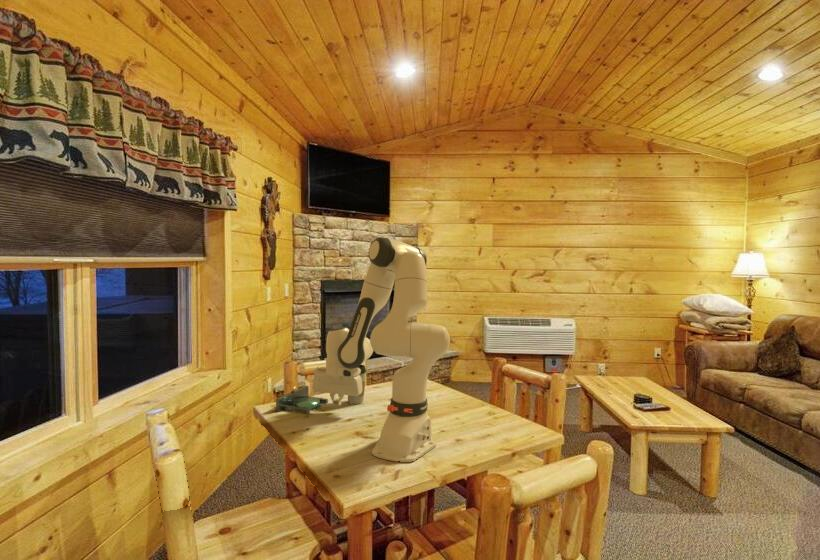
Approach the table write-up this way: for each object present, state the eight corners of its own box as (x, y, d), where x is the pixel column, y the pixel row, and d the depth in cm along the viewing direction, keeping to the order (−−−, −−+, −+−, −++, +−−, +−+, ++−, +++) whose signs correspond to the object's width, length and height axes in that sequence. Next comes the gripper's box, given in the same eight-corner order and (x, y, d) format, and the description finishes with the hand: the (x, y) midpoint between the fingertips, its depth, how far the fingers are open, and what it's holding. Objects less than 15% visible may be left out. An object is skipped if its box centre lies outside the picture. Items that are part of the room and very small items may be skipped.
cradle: (303, 415, 170) (303, 397, 170) (275, 411, 175) (275, 393, 175) (331, 400, 189) (331, 384, 189) (305, 397, 194) (305, 381, 193)
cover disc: (311, 412, 175) (311, 406, 175) (289, 409, 178) (289, 403, 178) (324, 405, 184) (324, 399, 184) (303, 402, 188) (303, 396, 188)
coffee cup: (355, 397, 194) (355, 363, 194) (369, 401, 189) (370, 366, 189) (341, 402, 187) (341, 366, 187) (356, 406, 183) (356, 369, 182)
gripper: (309, 368, 176) (309, 403, 176) (357, 373, 169) (356, 410, 169) (318, 365, 182) (317, 399, 182) (364, 369, 175) (363, 405, 175)
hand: (336, 404), depth 176 cm, fingers closed
